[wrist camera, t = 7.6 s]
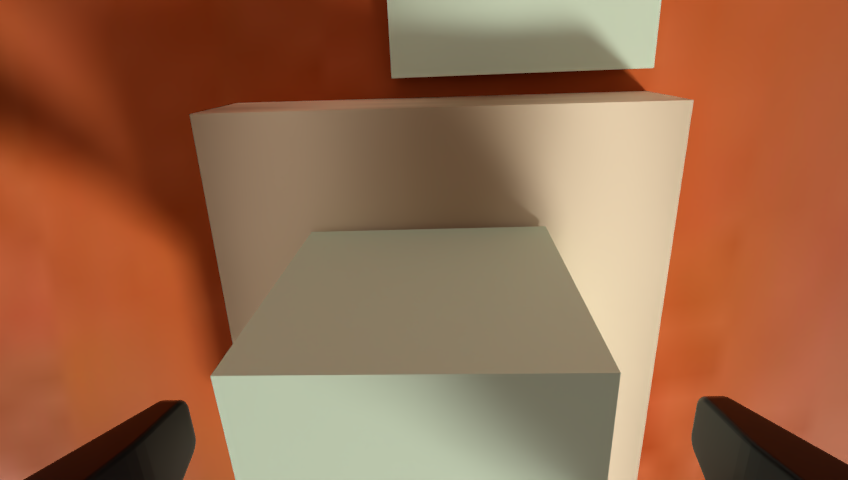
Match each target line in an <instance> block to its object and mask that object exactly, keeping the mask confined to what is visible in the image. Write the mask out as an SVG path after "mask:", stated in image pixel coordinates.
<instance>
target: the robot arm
mask: <svg viewBox="0 0 848 480" xmlns="http://www.w3.org/2000/svg"><path fill="white" fill-rule="evenodd" d="M195 443H196V438H195V433H194V428H193V424H192V420H191V416H190V412H189V408H188V405H187V404H186V403H185V402H184V401H182V400H164V401H160V402H158V403H156V404H154V405H152V406H151V407H149V408H147V409H146V410H144V411H142V412H140V413H139V414H137V415H135V416H133V417H132V418H130V419H128V420H126V421H125V422H123V423H121V424H120V425H118V426H116V427H114V428H113V429H111V430H109V431H107V432H106V433H104V434H102V435H100V436H99V437H97V438H95V439H93V440H92V441H90V442H88V443H87V444H85V445H83V446H81V447H80V448H78V449H76V450H74V451H73V452H71V453H69V454H67V455H66V456H64V457H62V458H60V459H59V460H57V461H55V462H54V463H52V464H50V465H48V466H47V467H45V468H43V469H41V470H40V471H38V472H36V473H34V474H33V475H31V476H29V477H27V478H26V479H24V480H183V478H184V476H185V473H186V470H187V468H188V465H189V463H190V460H191V457H192V455H193V452H194V449H195ZM692 445H693V449H694V452H695V455H696V457H697V460H698V462H699V465H700V467H701V470H702V472H703V475H704V477H705V480H848V464H846V463H844V462H842V461H841V460H839V459H837V458H835V457H833V456H832V455H830V454H828V453H826V452H825V451H823V450H821V449H819V448H817V447H816V446H814V445H812V444H810V443H808V442H807V441H805V440H803V439H801V438H800V437H798V436H796V435H794V434H792V433H791V432H789V431H787V430H785V429H784V428H782V427H780V426H778V425H776V424H775V423H773V422H771V421H769V420H767V419H766V418H764V417H762V416H760V415H759V414H757V413H755V412H753V411H751V410H750V409H748V408H746V407H744V406H743V405H741V404H739V403H737V402H735V401H734V400H732V399H730V398H728V397H724V396H704V397H702V398H700V399H699V401H698V403H697V407H696V413H695V418H694V424H693V430H692Z"/></svg>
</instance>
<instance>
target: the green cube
mask: <svg viewBox="0 0 848 480" xmlns="http://www.w3.org/2000/svg"><path fill="white" fill-rule="evenodd" d="M620 376H621V372H620V370H619V368H618V366H617V364H616V363H615V361H614V359H613V357H612V355H611V353H610V351H609V349H608V347H607V345H606V343H605V341H604V339H603V337H602V335H601V333H600V331H599V329H598V327H597V326H596V324H595V322H594V320H593V318H592V316H591V314H590V312H589V310H588V308H587V306H586V304H585V302H584V300H583V298H582V296H581V294H580V292H579V291H578V289H577V287H576V285H575V283H574V281H573V279H572V277H571V275H570V273H569V271H568V269H567V267H566V265H565V263H564V261H563V259H562V257H561V255H560V254H559V252H558V250H557V248H556V246H555V244H554V242H553V240H552V238H551V236H550V234H549V232H548V230H547V228H546V226H533V227H492V228H450V229H409V230H368V231H327V232H311V234H310V235H309V236H308V238H307V239H306V241H305V242H304V243H303V245H302V246H301V248H300V249H299V251H298V252H297V253H296V255H295V256H294V258H293V259H292V261H291V262H290V263H289V265H288V266H287V268H286V269H285V271H284V272H283V273H282V275H281V276H280V278H279V279H278V280H277V282H276V283H275V285H274V286H273V288H272V289H271V290H270V292H269V293H268V295H267V296H266V298H265V299H264V300H263V302H262V303H261V305H260V306H259V308H258V309H257V310H256V312H255V313H254V315H253V316H252V317H251V319H250V320H249V322H248V323H247V325H246V326H245V327H244V329H243V330H242V332H241V333H240V335H239V336H238V337H237V339H236V340H235V342H234V343H233V345H232V346H231V347H230V349H229V350H228V352H227V353H226V354H225V356H224V357H223V359H222V360H221V362H220V363H219V364H218V366H217V367H216V369H215V370H214V372H213V373H212V374H211V381H212V385H213V389H214V393H215V397H216V401H217V405H218V409H219V414H220V418H221V422H222V426H223V430H224V434H225V438H226V442H227V447H228V451H229V455H230V459H231V463H232V467H233V471H234V475H235V480H608V473H609V464H610V456H611V448H612V440H613V432H614V424H615V416H616V408H617V400H618V392H619V384H620Z"/></svg>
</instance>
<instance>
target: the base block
mask: <svg viewBox="0 0 848 480" xmlns="http://www.w3.org/2000/svg"><path fill="white" fill-rule="evenodd" d="M693 101H694V100H691V99H686V98H680V97H675V96H670V95H665V94H660V93H654V92H649V91H625V92H591V93H557V94H522V95H488V96H454V97H420V98H386V99H352V100H318V101H284V102H250V103H234V104H230V105H226V106H221V107H217V108H213V109H209V110H204V111H200V112H196V113H192V114H189V115H190V120H191V126H192V131H193V136H194V142H195V147H196V152H197V157H198V163H199V168H200V173H201V179H202V184H203V189H204V195H205V200H206V205H207V210H208V216H209V221H210V226H211V232H212V237H213V242H214V247H215V253H216V258H217V263H218V269H219V274H220V279H221V285H222V290H223V295H224V300H225V306H226V311H227V316H228V322H229V327H230V332H231V338H232V343H234V342H235V340H236V339H237V337H238V336H239V335H240V333H241V332H242V330H243V329H244V327H245V326H246V325H247V323H248V322H249V320H250V319H251V317H252V316H253V315H254V313H255V312H256V310H257V309H258V308H259V306H260V305H261V303H262V302H263V300H264V299H265V298H266V296H267V295H268V293H269V292H270V290H271V289H272V288H273V286H274V285H275V283H276V282H277V280H278V279H279V278H280V276H281V275H282V273H283V272H284V271H285V269H286V268H287V266H288V265H289V263H290V262H291V261H292V259H293V258H294V256H295V255H296V253H297V252H298V251H299V249H300V248H301V246H302V245H303V243H304V242H305V241H306V239H307V238H308V236H309V235H310V234H311V232H327V231H368V230H409V229H450V228H492V227H533V226H546V228H547V230H548V232H549V234H550V236H551V238H552V240H553V242H554V244H555V246H556V248H557V250H558V252H559V254H560V255H561V257H562V259H563V261H564V263H565V265H566V267H567V269H568V271H569V273H570V275H571V277H572V279H573V281H574V283H575V285H576V287H577V289H578V291H579V292H580V294H581V296H582V298H583V300H584V302H585V304H586V306H587V308H588V310H589V312H590V314H591V316H592V318H593V320H594V322H595V324H596V326H597V327H598V329H599V331H600V333H601V335H602V337H603V339H604V341H605V343H606V345H607V347H608V349H609V351H610V353H611V355H612V357H613V359H614V361H615V363H616V364H617V366H618V368H619V370H620V372H621V376H620V384H619V392H618V400H617V408H616V416H615V424H614V432H613V440H612V448H611V456H610V464H609V473H608V480H637V476H638V469H639V463H640V456H641V449H642V443H643V436H644V429H645V422H646V416H647V409H648V402H649V396H650V389H651V382H652V376H653V369H654V362H655V355H656V349H657V342H658V335H659V329H660V322H661V315H662V309H663V302H664V295H665V289H666V282H667V275H668V268H669V262H670V255H671V248H672V242H673V235H674V228H675V222H676V215H677V208H678V201H679V195H680V188H681V181H682V175H683V168H684V161H685V155H686V148H687V141H688V135H689V128H690V121H691V114H692V108H693Z"/></svg>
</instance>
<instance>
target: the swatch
mask: <svg viewBox="0 0 848 480" xmlns="http://www.w3.org/2000/svg"><path fill="white" fill-rule="evenodd" d="M660 8H661V0H387V10H388V27H389V44H390V61H391V78H413V77H438V76H463V75H488V74H514V73H539V72H564V71H589V70H615V69H640V68H654V62H655V53H656V44H657V35H658V26H659V17H660Z"/></svg>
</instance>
